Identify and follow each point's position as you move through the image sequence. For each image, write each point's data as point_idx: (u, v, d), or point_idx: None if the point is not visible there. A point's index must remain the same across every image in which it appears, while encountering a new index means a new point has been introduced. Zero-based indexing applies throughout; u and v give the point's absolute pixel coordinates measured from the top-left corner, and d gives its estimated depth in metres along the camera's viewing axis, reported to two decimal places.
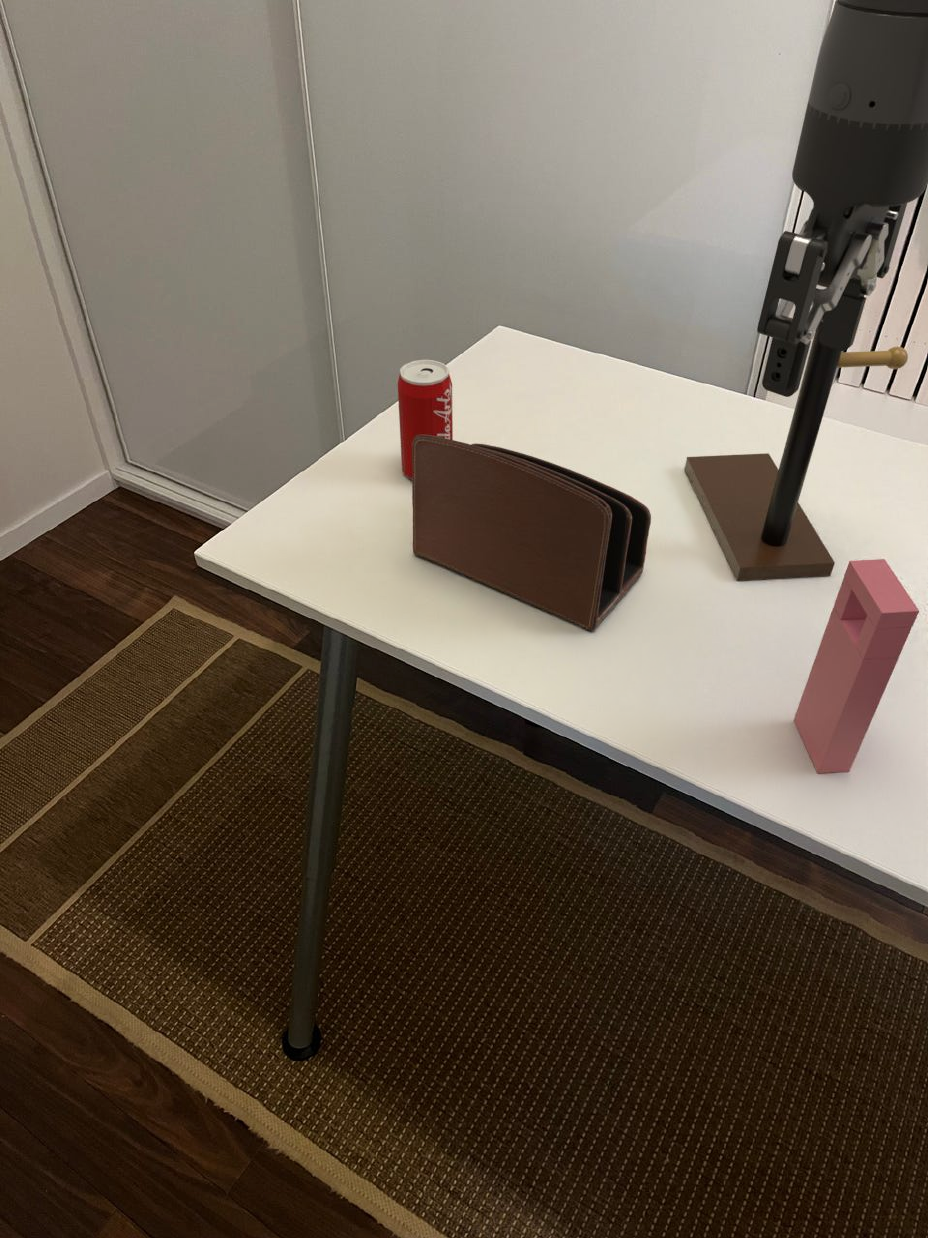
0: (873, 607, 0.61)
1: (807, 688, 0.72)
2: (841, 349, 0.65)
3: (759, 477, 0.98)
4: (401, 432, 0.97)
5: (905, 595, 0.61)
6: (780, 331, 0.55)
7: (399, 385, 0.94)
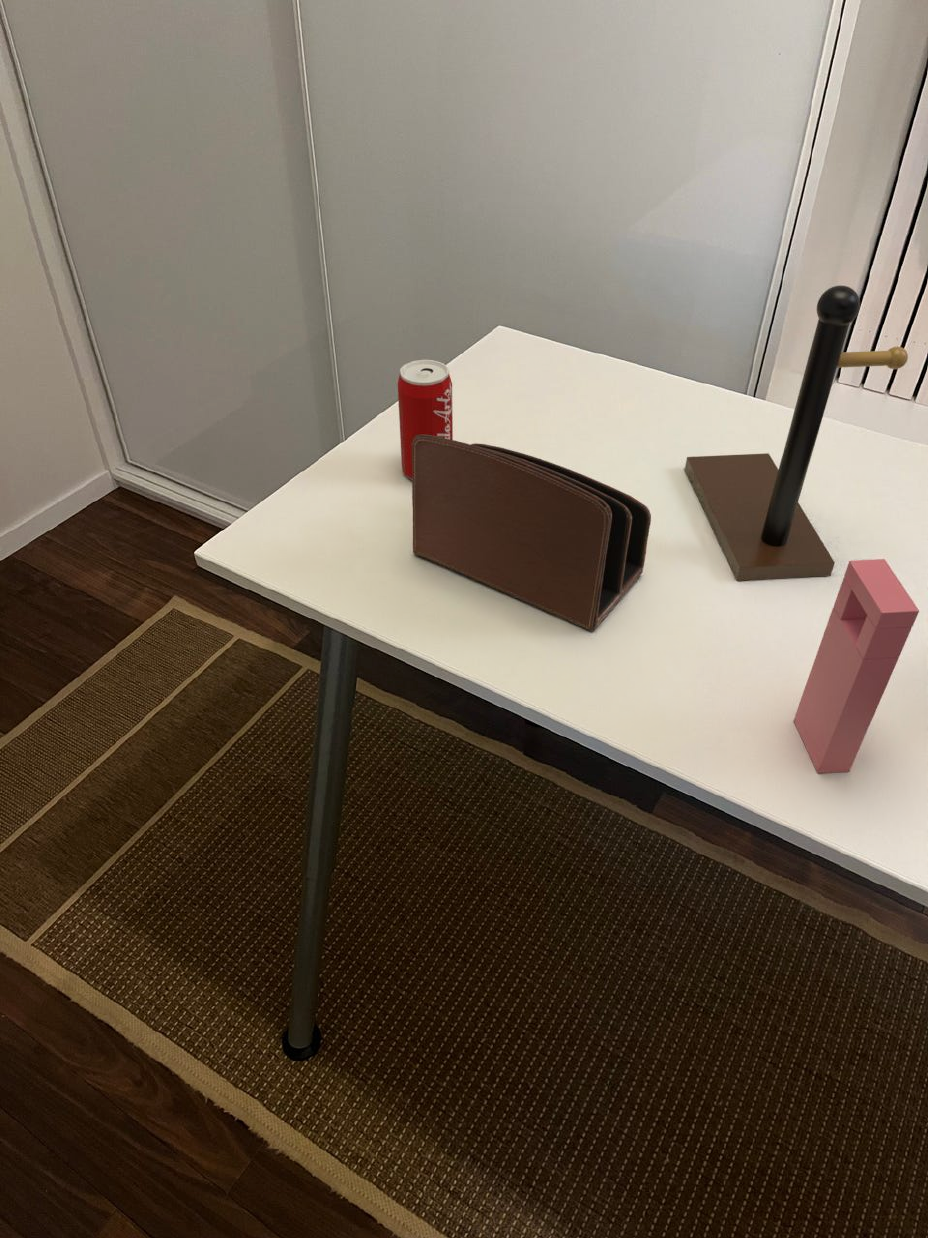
0: (873, 607, 0.61)
1: (807, 688, 0.72)
2: None
3: (759, 477, 0.98)
4: (401, 432, 0.97)
5: (905, 595, 0.61)
6: None
7: (399, 385, 0.94)
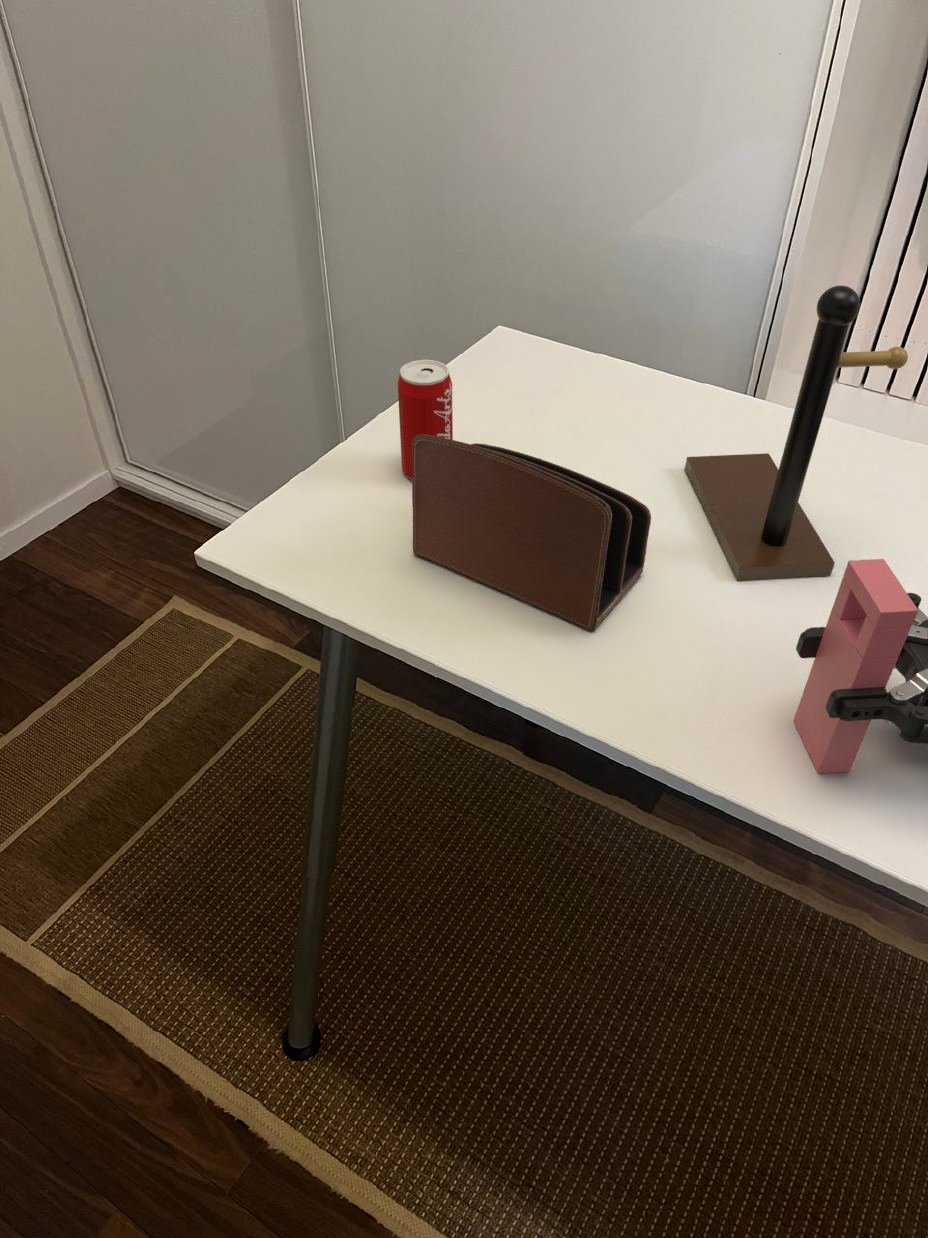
0: (872, 606, 0.61)
1: (806, 688, 0.72)
2: (831, 694, 0.65)
3: (759, 477, 0.98)
4: (401, 432, 0.97)
5: (905, 595, 0.61)
6: None
7: (399, 385, 0.94)
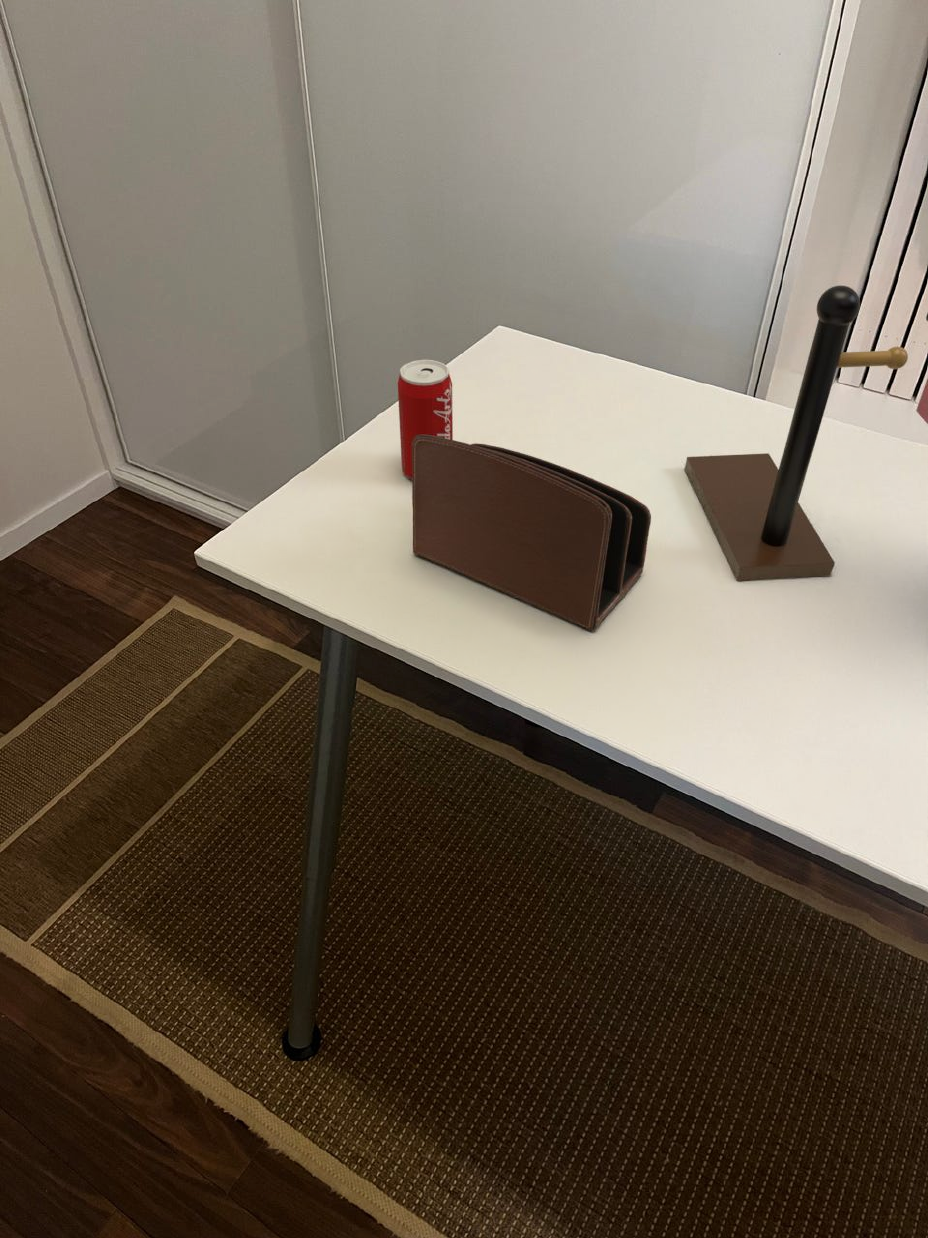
0: None
1: None
2: None
3: (759, 477, 0.98)
4: (401, 432, 0.97)
5: None
6: None
7: (399, 385, 0.94)
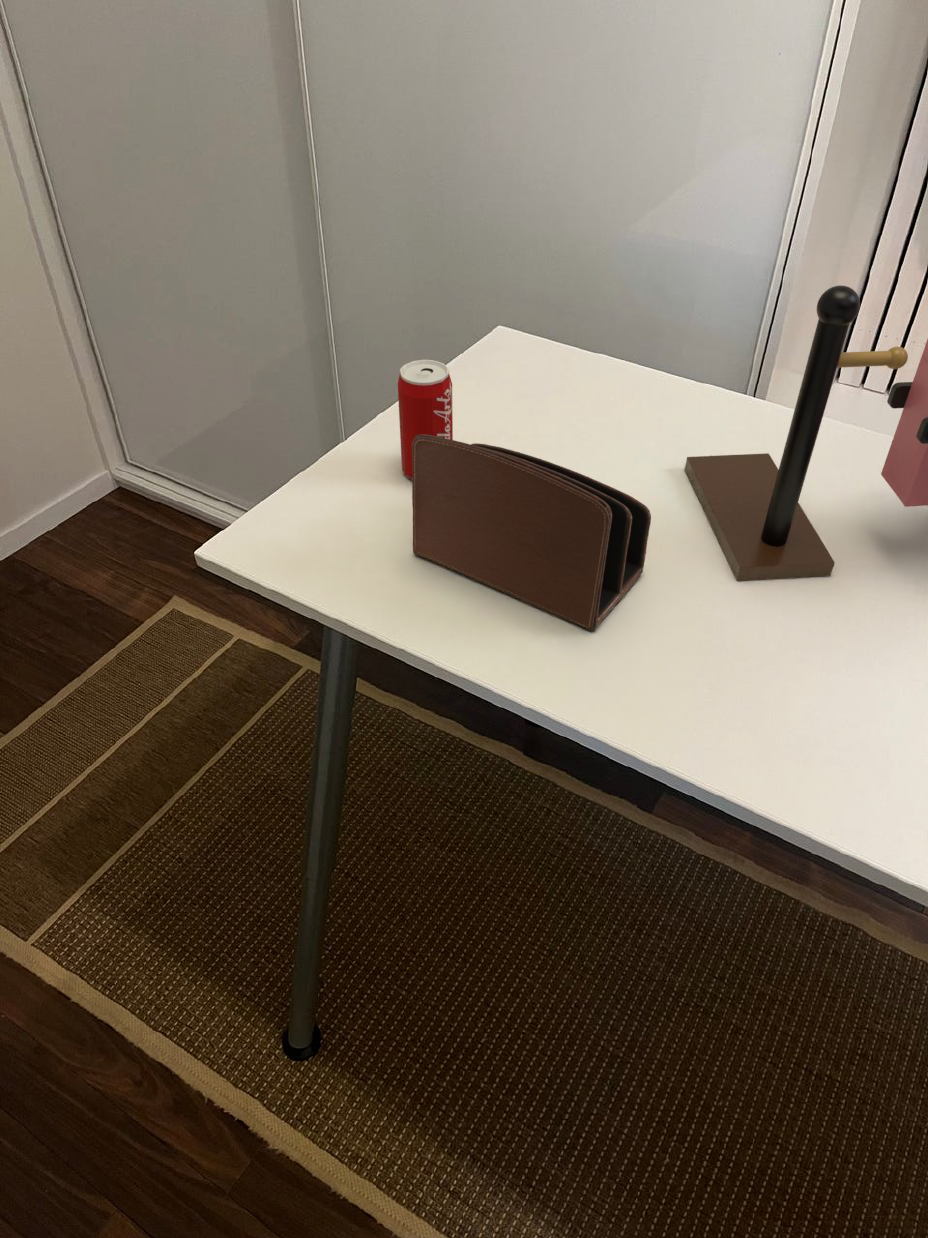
0: None
1: (895, 438, 0.86)
2: (922, 421, 0.79)
3: (759, 477, 0.98)
4: (401, 432, 0.97)
5: None
6: None
7: (399, 385, 0.94)
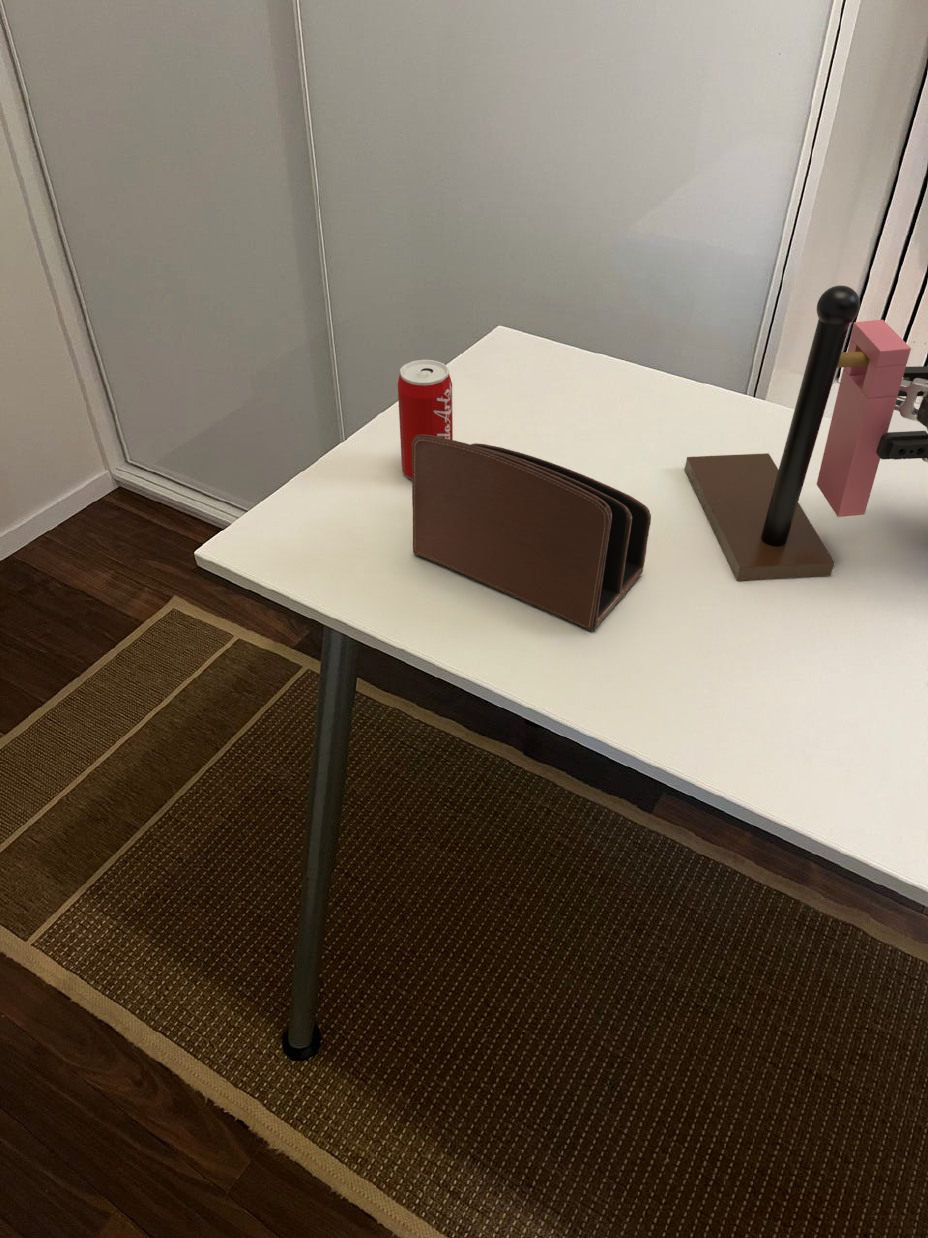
0: (874, 349, 0.75)
1: (826, 449, 0.86)
2: (881, 437, 0.78)
3: (759, 477, 0.98)
4: (401, 432, 0.97)
5: (900, 340, 0.76)
6: None
7: (399, 385, 0.94)
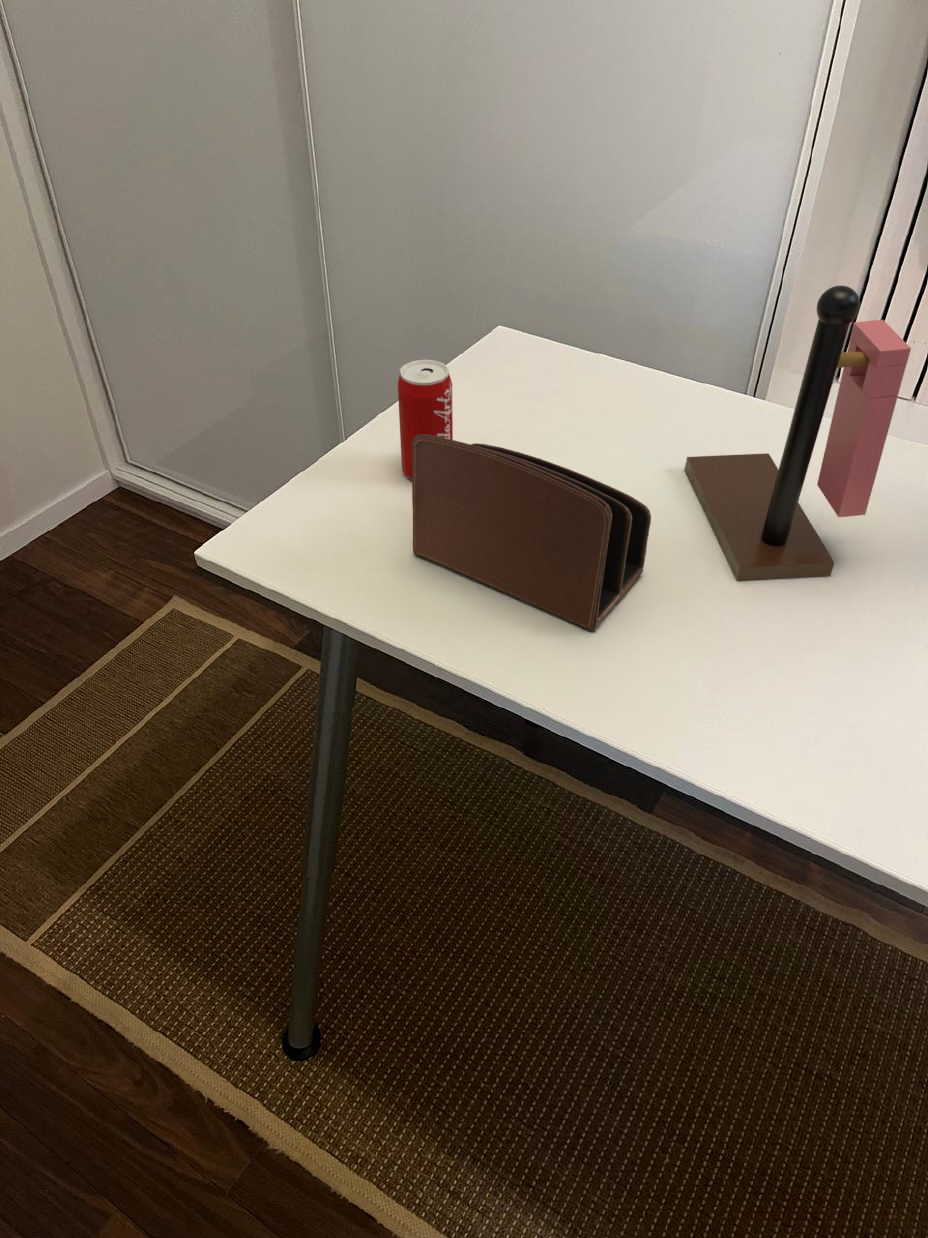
0: (874, 349, 0.75)
1: (826, 450, 0.86)
2: None
3: (759, 477, 0.98)
4: (401, 432, 0.97)
5: (900, 340, 0.76)
6: None
7: (399, 385, 0.94)
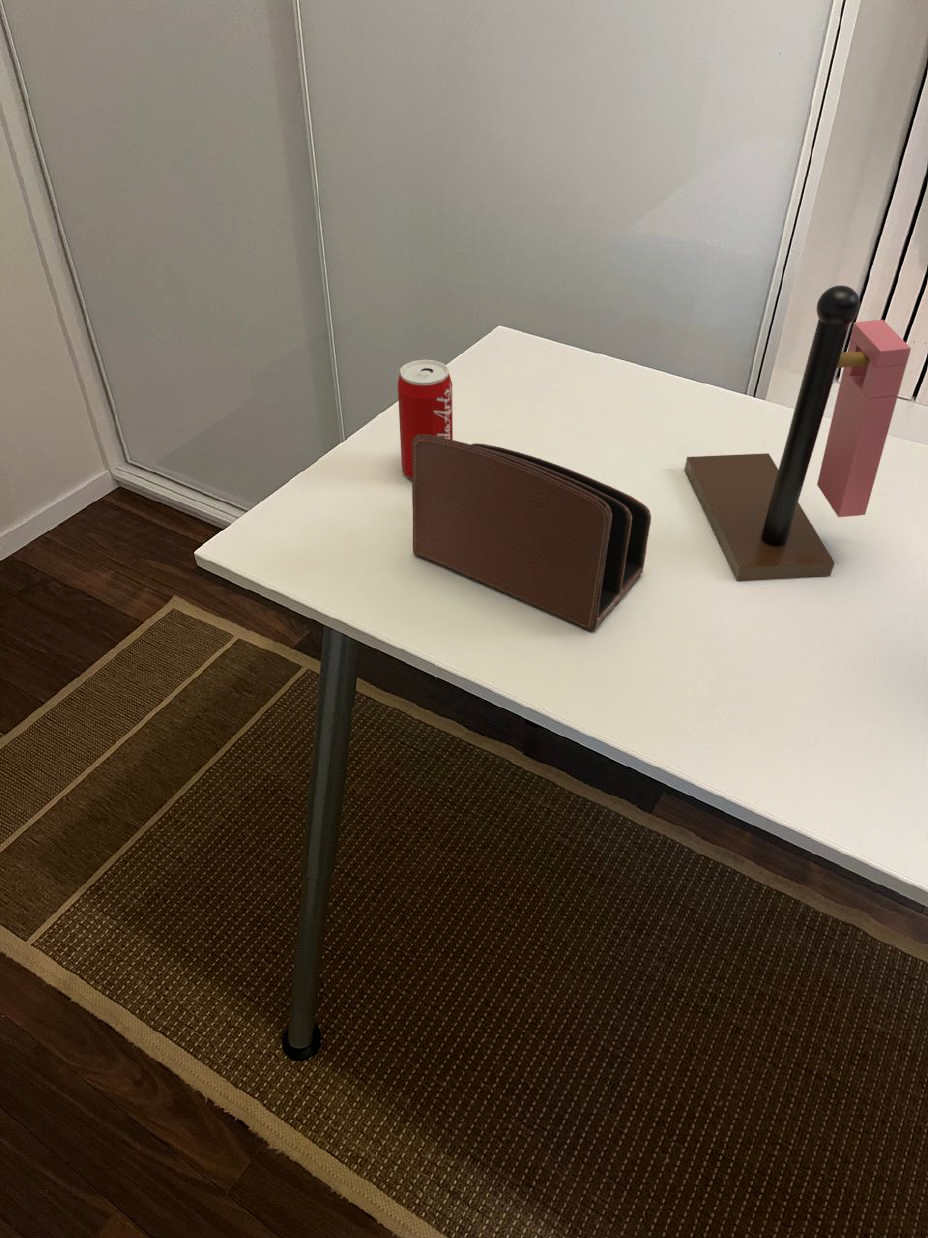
0: (874, 349, 0.75)
1: (826, 449, 0.86)
2: None
3: (759, 477, 0.98)
4: (401, 432, 0.97)
5: (900, 340, 0.76)
6: None
7: (399, 385, 0.94)
